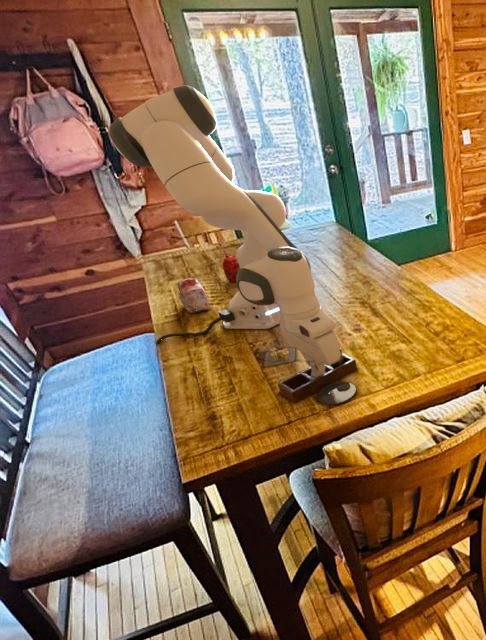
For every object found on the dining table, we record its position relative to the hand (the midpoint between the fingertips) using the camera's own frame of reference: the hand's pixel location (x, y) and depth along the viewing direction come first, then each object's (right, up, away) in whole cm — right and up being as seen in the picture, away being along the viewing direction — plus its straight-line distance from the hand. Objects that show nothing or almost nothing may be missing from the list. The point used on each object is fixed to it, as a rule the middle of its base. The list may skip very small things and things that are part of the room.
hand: (316, 367), depth 122 cm
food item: (-56, +20, +46) cm, 75 cm away
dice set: (-15, +3, +14) cm, 20 cm away
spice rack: (0, -3, +2) cm, 4 cm away
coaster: (+6, -6, -3) cm, 9 cm away
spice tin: (+4, -1, +6) cm, 7 cm away
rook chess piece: (0, -4, +2) cm, 4 cm away
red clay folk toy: (-53, +33, +66) cm, 91 cm away
